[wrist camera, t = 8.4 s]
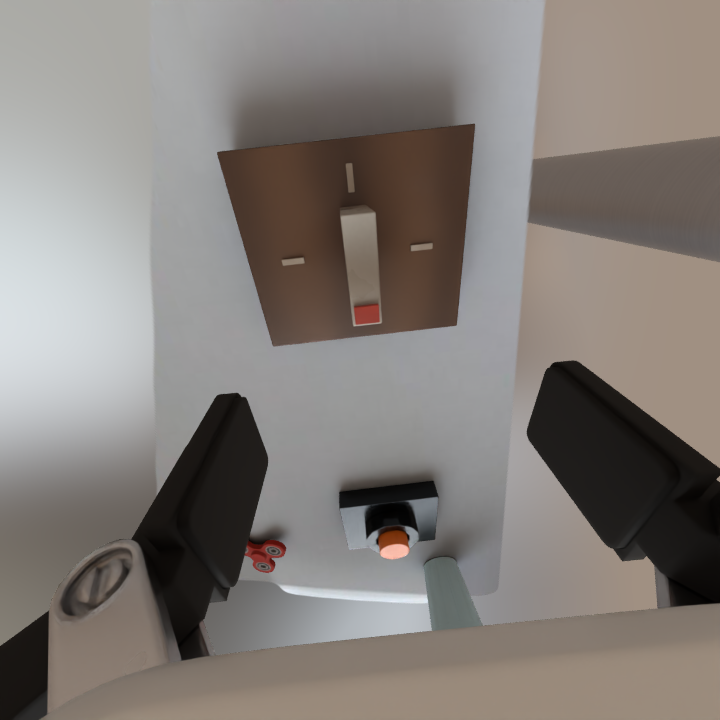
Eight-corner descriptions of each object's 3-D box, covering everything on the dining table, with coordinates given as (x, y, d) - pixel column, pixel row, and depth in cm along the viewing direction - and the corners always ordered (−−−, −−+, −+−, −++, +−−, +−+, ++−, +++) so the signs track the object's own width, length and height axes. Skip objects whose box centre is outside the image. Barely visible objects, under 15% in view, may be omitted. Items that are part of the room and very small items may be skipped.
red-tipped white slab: (339, 207, 17) (340, 215, 13) (366, 204, 17) (376, 212, 13) (349, 296, 20) (353, 328, 16) (372, 293, 20) (382, 325, 16)
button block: (433, 480, 36) (443, 511, 33) (430, 523, 42) (438, 554, 38) (339, 491, 36) (339, 523, 33) (348, 533, 42) (349, 564, 38)
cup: (449, 576, 51) (473, 658, 42) (410, 573, 50) (426, 658, 41) (470, 555, 48) (500, 640, 39) (428, 551, 46) (449, 638, 37)
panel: (456, 131, 18) (477, 122, 15) (444, 310, 24) (457, 326, 22) (233, 156, 18) (215, 151, 15) (279, 329, 24) (272, 347, 22)
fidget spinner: (287, 552, 39) (290, 542, 40) (235, 533, 38) (240, 523, 39) (269, 577, 42) (272, 568, 44) (221, 560, 42) (226, 551, 43)
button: (406, 527, 35) (409, 542, 34) (406, 542, 37) (409, 557, 35) (377, 530, 35) (379, 546, 34) (378, 545, 37) (380, 560, 35)
